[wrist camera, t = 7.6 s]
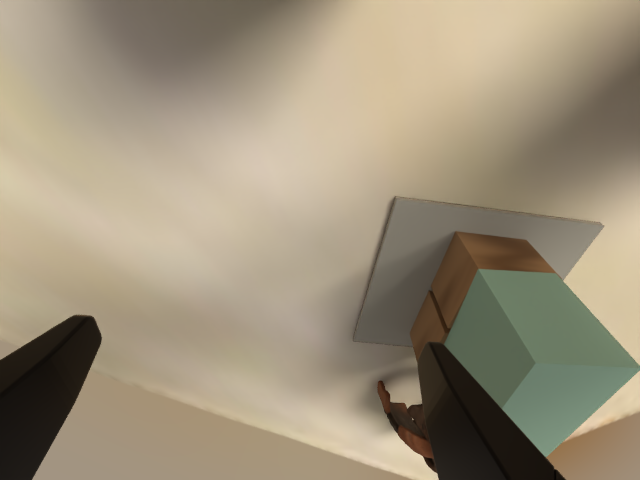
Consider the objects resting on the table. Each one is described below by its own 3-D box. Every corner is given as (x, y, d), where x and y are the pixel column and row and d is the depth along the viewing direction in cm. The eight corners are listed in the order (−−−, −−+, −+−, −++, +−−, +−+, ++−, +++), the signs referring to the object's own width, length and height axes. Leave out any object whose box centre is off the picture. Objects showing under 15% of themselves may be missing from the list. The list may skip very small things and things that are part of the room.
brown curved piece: (363, 360, 31) (419, 423, 24) (439, 322, 34) (510, 367, 27) (382, 448, 35) (435, 525, 28) (449, 407, 38) (513, 466, 31)
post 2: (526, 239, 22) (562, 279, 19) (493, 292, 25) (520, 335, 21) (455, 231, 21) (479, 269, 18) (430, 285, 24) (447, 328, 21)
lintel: (478, 268, 18) (535, 363, 13) (556, 273, 18) (641, 368, 13) (427, 380, 24) (454, 472, 19) (486, 382, 25) (526, 475, 20)
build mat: (600, 222, 21) (604, 225, 21) (503, 352, 29) (506, 355, 29) (395, 196, 20) (396, 199, 20) (353, 337, 28) (353, 341, 28)
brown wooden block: (491, 297, 25) (516, 340, 22) (465, 338, 28) (485, 382, 24) (428, 290, 25) (444, 333, 21) (409, 333, 27) (421, 376, 24)
